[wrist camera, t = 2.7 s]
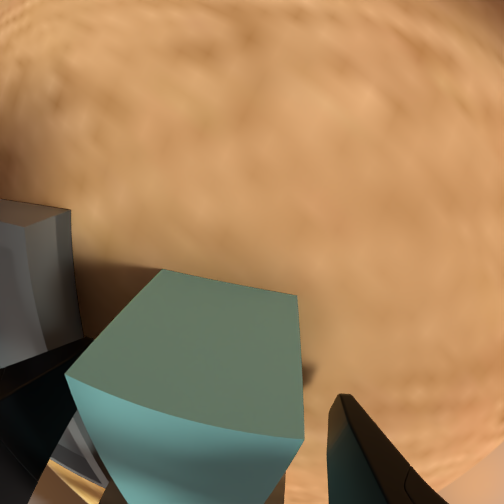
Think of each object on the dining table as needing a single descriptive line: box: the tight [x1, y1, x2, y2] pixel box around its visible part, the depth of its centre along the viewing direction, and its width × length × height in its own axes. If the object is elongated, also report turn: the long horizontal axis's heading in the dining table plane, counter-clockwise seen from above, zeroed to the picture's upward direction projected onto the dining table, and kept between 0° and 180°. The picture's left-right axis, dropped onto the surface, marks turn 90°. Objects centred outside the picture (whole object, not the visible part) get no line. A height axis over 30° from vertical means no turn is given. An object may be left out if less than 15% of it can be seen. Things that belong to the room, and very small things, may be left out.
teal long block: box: [65, 269, 304, 504], centre depth 8 cm, size 12×4×5 cm, turn 171°
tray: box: [0, 199, 111, 489], centre depth 10 cm, size 18×9×2 cm, turn 171°
